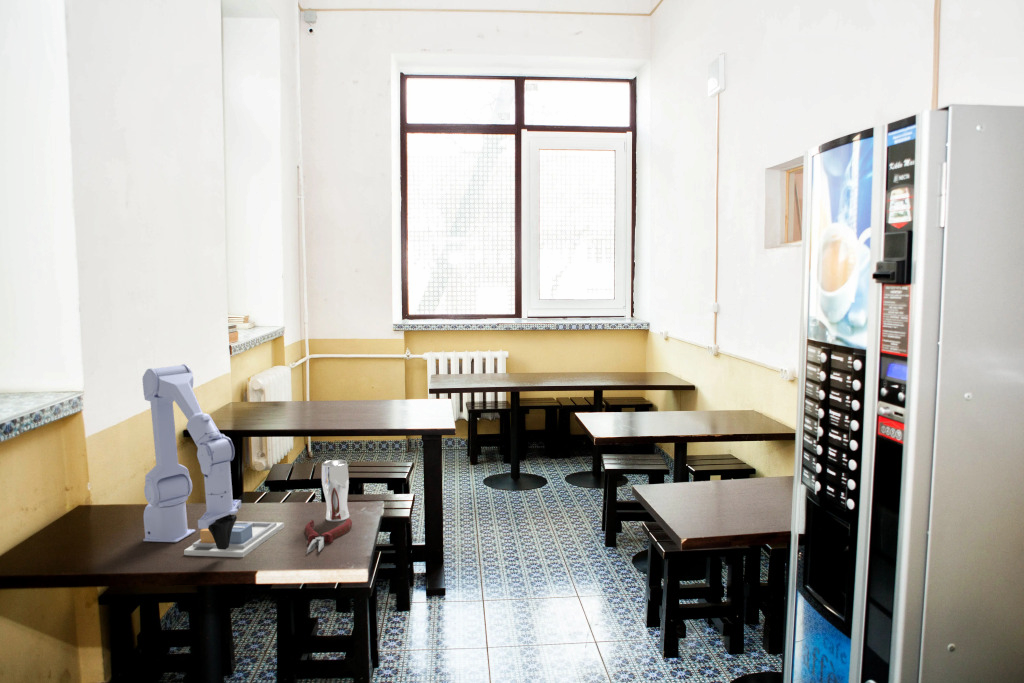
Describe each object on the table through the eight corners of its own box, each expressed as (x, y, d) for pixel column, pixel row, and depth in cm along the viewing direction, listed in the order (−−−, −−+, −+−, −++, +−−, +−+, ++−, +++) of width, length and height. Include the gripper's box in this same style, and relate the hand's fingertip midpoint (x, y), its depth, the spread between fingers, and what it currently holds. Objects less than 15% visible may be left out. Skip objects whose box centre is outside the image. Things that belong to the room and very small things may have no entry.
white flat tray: (184, 555, 173) (183, 546, 173) (231, 525, 193) (230, 518, 193) (242, 557, 171) (242, 549, 171) (284, 527, 190) (283, 519, 190)
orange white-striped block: (201, 544, 176) (199, 529, 176) (213, 537, 181) (211, 522, 181) (216, 545, 176) (215, 530, 175) (227, 537, 180) (226, 523, 180)
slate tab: (226, 545, 175) (225, 530, 175) (237, 537, 180) (236, 523, 180) (241, 545, 175) (240, 530, 174) (252, 538, 179) (251, 523, 179)
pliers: (287, 558, 170) (287, 547, 170) (309, 528, 190) (308, 518, 190) (337, 556, 171) (337, 545, 170) (353, 526, 191) (353, 516, 190)
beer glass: (347, 521, 193) (344, 465, 191) (321, 522, 193) (317, 466, 191) (353, 513, 200) (350, 458, 198) (328, 513, 200) (324, 459, 198)
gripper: (216, 501, 161) (221, 561, 163) (251, 482, 175) (255, 537, 177) (187, 500, 163) (192, 560, 164) (224, 481, 177) (228, 536, 178)
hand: (223, 548), depth 170 cm, fingers closed
